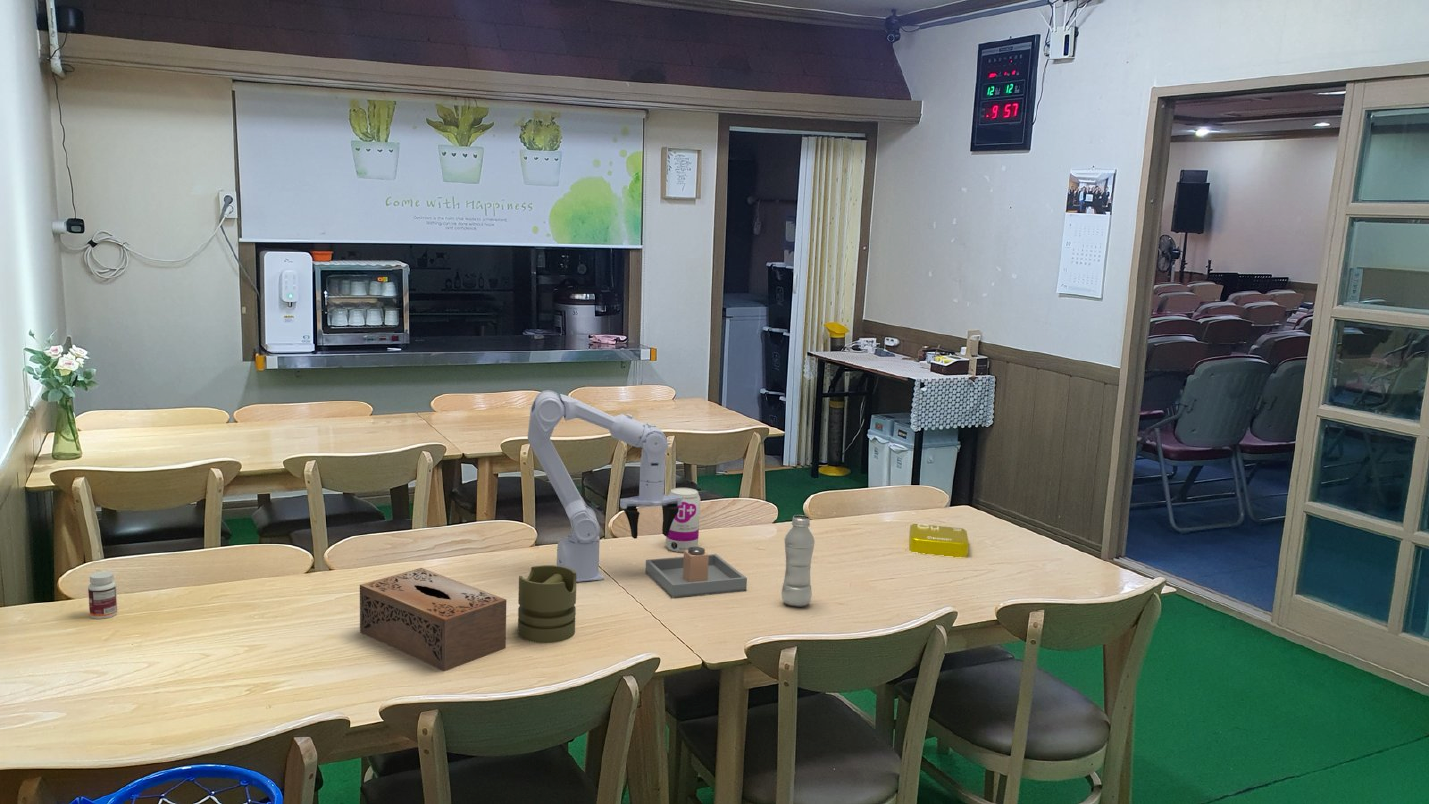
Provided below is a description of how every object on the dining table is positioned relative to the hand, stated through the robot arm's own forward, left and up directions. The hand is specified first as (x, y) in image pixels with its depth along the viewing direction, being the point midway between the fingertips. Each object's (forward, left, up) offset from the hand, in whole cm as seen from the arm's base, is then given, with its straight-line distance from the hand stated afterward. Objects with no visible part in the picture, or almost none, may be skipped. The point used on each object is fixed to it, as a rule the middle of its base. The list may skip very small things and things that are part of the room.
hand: (649, 536), depth 245 cm
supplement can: (+15, +17, -10) cm, 25 cm away
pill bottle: (-112, +5, -10) cm, 113 cm away
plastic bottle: (+25, -27, -10) cm, 38 cm away
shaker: (+9, -7, -9) cm, 14 cm away
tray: (+9, -7, -9) cm, 15 cm away
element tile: (+82, +1, -10) cm, 83 cm away
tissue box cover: (-53, -25, -10) cm, 59 cm away
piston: (-31, -27, -10) cm, 42 cm away
